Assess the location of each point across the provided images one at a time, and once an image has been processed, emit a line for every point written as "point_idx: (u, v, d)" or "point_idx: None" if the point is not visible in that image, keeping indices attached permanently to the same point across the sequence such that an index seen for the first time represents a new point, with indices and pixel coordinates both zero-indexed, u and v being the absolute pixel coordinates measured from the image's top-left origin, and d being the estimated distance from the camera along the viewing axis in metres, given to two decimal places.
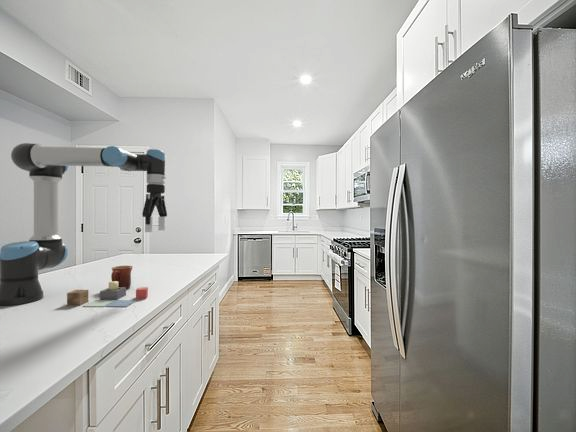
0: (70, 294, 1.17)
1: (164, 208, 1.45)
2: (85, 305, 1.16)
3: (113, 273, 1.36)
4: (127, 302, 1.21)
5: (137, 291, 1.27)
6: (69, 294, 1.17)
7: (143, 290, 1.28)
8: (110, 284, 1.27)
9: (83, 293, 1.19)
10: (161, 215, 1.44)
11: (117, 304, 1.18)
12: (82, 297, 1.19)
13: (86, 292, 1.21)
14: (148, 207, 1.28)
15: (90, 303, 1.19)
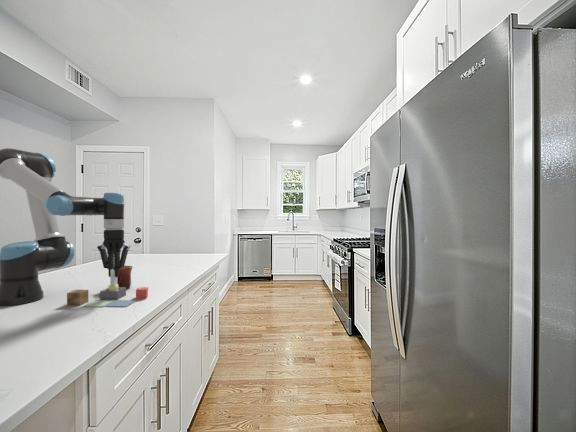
0: (70, 294, 1.17)
1: None
2: (85, 305, 1.16)
3: None
4: (127, 302, 1.21)
5: (137, 291, 1.27)
6: (69, 294, 1.17)
7: (143, 290, 1.28)
8: (110, 287, 1.27)
9: (83, 293, 1.19)
10: None
11: (117, 304, 1.18)
12: (82, 297, 1.19)
13: (86, 292, 1.21)
14: None
15: (90, 303, 1.19)
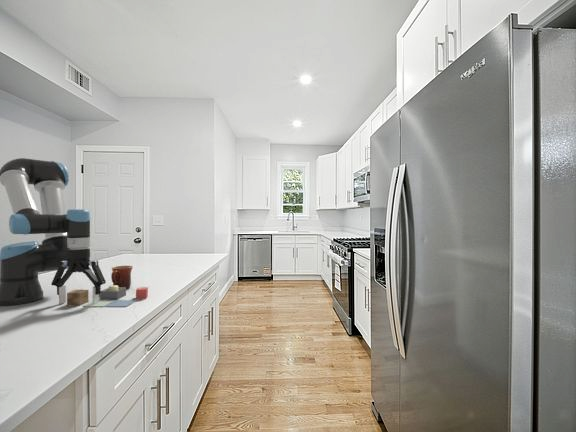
0: (70, 294, 1.17)
1: (96, 276, 1.19)
2: (85, 305, 1.16)
3: (113, 273, 1.36)
4: (127, 302, 1.21)
5: (137, 291, 1.27)
6: (69, 294, 1.17)
7: (143, 290, 1.28)
8: (110, 288, 1.27)
9: (83, 293, 1.19)
10: None
11: (117, 304, 1.18)
12: (82, 297, 1.19)
13: (86, 292, 1.21)
14: None
15: (90, 303, 1.19)
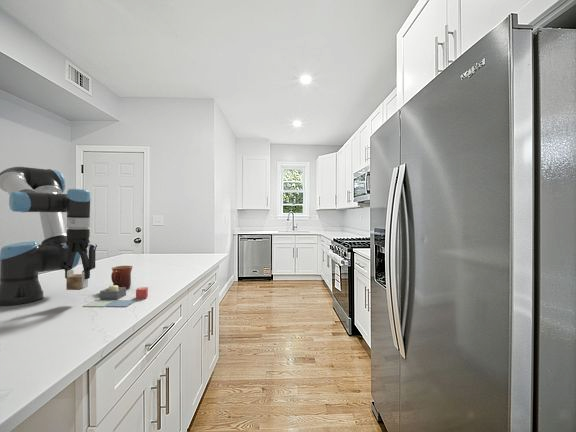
0: (69, 278, 1.17)
1: (88, 260, 1.19)
2: (85, 305, 1.16)
3: (113, 273, 1.36)
4: (127, 302, 1.21)
5: (137, 291, 1.27)
6: (68, 278, 1.17)
7: (143, 290, 1.28)
8: (110, 288, 1.27)
9: None
10: None
11: (117, 304, 1.18)
12: None
13: None
14: None
15: (90, 303, 1.19)
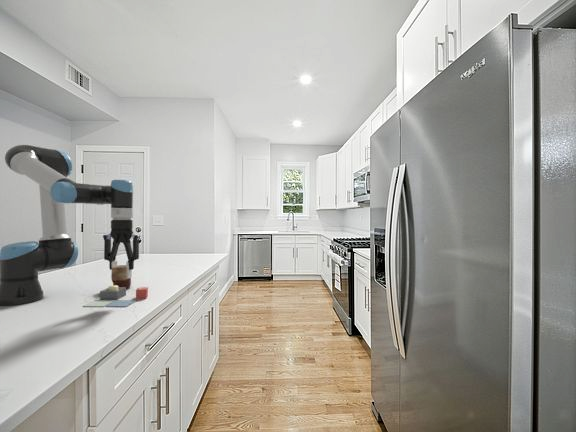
0: (115, 269, 1.17)
1: (133, 250, 1.19)
2: (85, 305, 1.16)
3: None
4: (127, 302, 1.21)
5: (137, 291, 1.27)
6: (114, 269, 1.17)
7: (143, 290, 1.28)
8: (110, 288, 1.27)
9: None
10: None
11: (117, 304, 1.18)
12: None
13: None
14: None
15: (90, 303, 1.19)
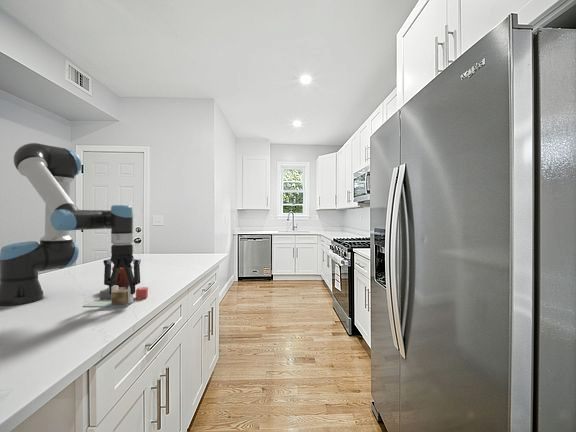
0: (115, 293, 1.17)
1: (134, 275, 1.19)
2: (85, 305, 1.16)
3: None
4: None
5: (137, 291, 1.27)
6: (114, 293, 1.17)
7: (143, 290, 1.28)
8: None
9: (127, 292, 1.19)
10: None
11: None
12: (126, 297, 1.19)
13: None
14: None
15: (90, 303, 1.19)
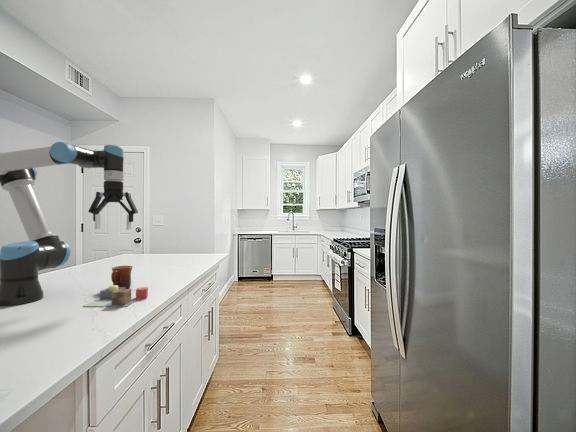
0: (115, 293, 1.17)
1: (129, 205, 1.33)
2: (85, 305, 1.16)
3: (113, 273, 1.36)
4: None
5: (137, 291, 1.27)
6: (114, 293, 1.17)
7: (143, 290, 1.28)
8: (110, 288, 1.27)
9: (127, 292, 1.19)
10: None
11: None
12: (126, 297, 1.19)
13: (129, 291, 1.21)
14: None
15: (90, 303, 1.19)
